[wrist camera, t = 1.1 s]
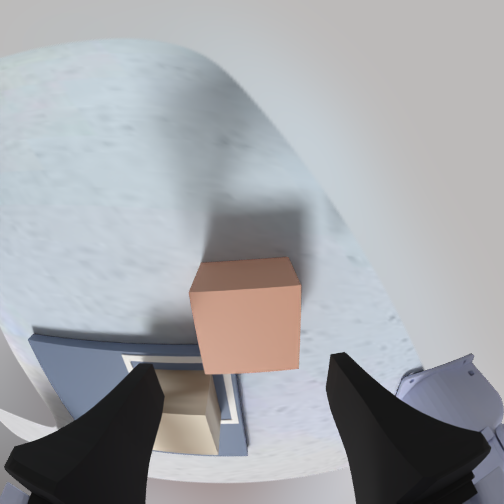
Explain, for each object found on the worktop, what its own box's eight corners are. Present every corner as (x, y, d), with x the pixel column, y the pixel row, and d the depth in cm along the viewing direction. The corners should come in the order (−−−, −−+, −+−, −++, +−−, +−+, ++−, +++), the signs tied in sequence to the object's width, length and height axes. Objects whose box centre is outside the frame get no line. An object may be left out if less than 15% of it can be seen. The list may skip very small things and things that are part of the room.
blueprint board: (231, 343, 17) (231, 353, 16) (247, 448, 22) (247, 456, 21) (33, 333, 17) (27, 340, 16) (90, 431, 22) (87, 438, 21)
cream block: (211, 370, 17) (205, 415, 13) (221, 414, 18) (218, 455, 15) (142, 368, 17) (125, 408, 13) (160, 411, 18) (150, 449, 15)
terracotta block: (287, 256, 16) (301, 285, 12) (288, 328, 17) (298, 368, 14) (201, 262, 16) (188, 292, 12) (211, 333, 17) (205, 374, 14)
